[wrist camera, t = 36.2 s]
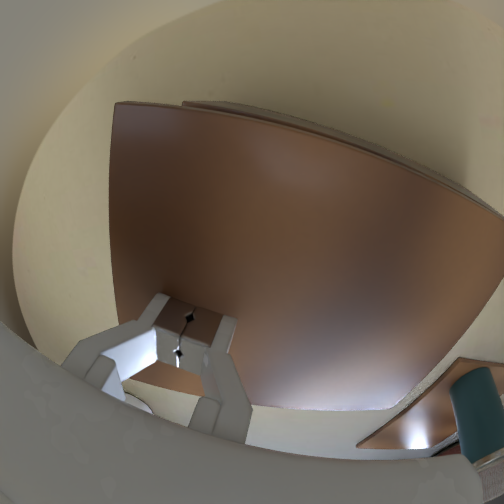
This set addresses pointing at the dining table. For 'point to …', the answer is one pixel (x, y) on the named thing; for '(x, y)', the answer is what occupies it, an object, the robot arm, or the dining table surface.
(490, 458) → the tea tin
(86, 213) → the dining table surface
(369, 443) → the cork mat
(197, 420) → the robot arm
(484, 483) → the planter
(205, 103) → the chest
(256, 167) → the chest lid
